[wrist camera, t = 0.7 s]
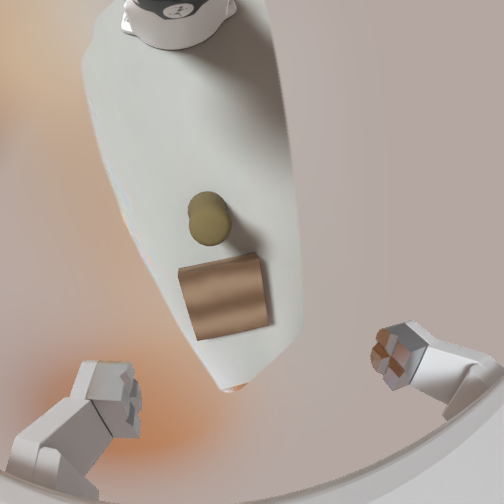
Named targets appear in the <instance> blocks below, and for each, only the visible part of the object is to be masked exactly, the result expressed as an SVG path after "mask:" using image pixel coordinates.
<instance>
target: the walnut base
mask: <svg viewBox="0 0 504 504" xmlns="http://www.w3.org/2000/svg"><path fill="white" fill-rule="evenodd" d="M178 279H179V282H180V286H181V289H182V293H183V296H184V300H185V303H186V306H187V310H188V313H189V316H190V319H191V323H192V326H193V329H194V332H195V335H196V338H197V341H199V340H204V339H209V338H214V337H219V336H224V335H229V334H233V333H238V332H242V331H247V330H251V329H256V328H260V327H264V326H268V317H267V310H266V303H265V296H264V289H263V282H262V275H261V268H260V261H259V258H258V256H257V255H256V253H252V254H247V255H242V256H237V257H232V258H227V259H223V260H218V261H213V262H208V263H203V264H198V265H194V266H189V267H184V268H179V270H178Z"/></svg>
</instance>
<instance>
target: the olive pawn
mask: <svg viewBox="0 0 504 504" xmlns="http://www.w3.org/2000/svg"><path fill="white" fill-rule="evenodd" d="M188 215H189V219H190V221H189V229H190V233H191V235H192V237H193V238H194V239H195V240H196V241H197V242H198V243H200V244H202V245H205V246H215V245H218V244H220V243H222V242H223V241H224V240H225V239H226V238H227V237H228V235H229V233H230V230H231V220H230V217H229V215H228V213H227V212H226V205H225V202H224V200H223V199H222V198H221V197H220V196H219V195H218V194H216V193H213V192H207V191H206V192H201V193H199V194H197V195H196V196H194V197H193V199H192V200H191V201H190V203H189V206H188Z"/></svg>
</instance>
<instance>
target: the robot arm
mask: <svg viewBox="0 0 504 504" xmlns="http://www.w3.org/2000/svg"><path fill="white" fill-rule="evenodd" d="M124 1H126V4H124V10H125V12H124V16H123V20H122V24H121V29H122V31H123V32H125V33H128V34H132V35H136V36H138V37H139V38H140V39H141V40H142V41H144V42H145V43H147V44H148V45H150V46H153V47H156V48H159V49H167V50H175V49H183V48H187V47H191V46H194V45H196V44H199V43H201V42H203V41H204V40H206V39H207V38H209V37H210V36H211V35H213V34H214V33H215V31H216V30H217V29H218V28H219V26H220V25H221V23H222V22H223V21H224V20H225V19H227V18H229V17H230V16H232V15H234V14H235V13H236V11H237V6H236V3H235V1H234V0H124ZM128 21H129V22H128ZM376 341H377V344H376V345H375V346H374V347H373V348H372V352H371V355H370V357H371V363H372V366H373V368H374V369H375V370H376V372H378V373H381V374H383V380H384V381H385V382H386V384H387V385H388V386H389V387H390V388H391V390H392V391H394V390H397V389H399V388H402V387H404V386H407V385H409V384H410V386H412V387H414V388H416V389H418V390H420V391H421V392H424V393H425V394H427V395H429V396H431V397H433V398H435V399H437V400H439V401H441V402H443V403H445V404H447V407H446V408H445V409H444V411H443V414H442V416H443V417H444V418H445V419H446V420H447V422H446V423H444V424H443V425H441V426H440V427H438V428H437V429H435V430H434V431H432V432H431V433H429V434H427V435H426V436H424V437H423V438H421V439H419V440H418V441H416V442H414V443H413V444H411V445H409V446H407V447H405V448H404V449H402V450H400V451H398V452H396V453H394V454H392V455H390V456H388V457H386V458H384V459H383V460H380V461H378V462H376V463H374V464H372V465H369V466H367V467H365V468H363V469H360V470H358V471H355V472H353V473H351V474H348V475H345V476H343V477H340V478H337V479H335V480H332V481H329V482H326V483H323V484H320V485H317V486H314V487H310V488H307V489H303V490H300V491H296V492H292V493H288V494H284V495H280V496H275V497H271V498H266V499H260V500H255V501H249V502H242V503H235V504H504V368H503V367H502V366H501V365H500V364H499V363H497V362H496V361H495V360H494V359H493V358H492V357H490V356H489V355H488V354H485V353H482V352H478V351H474V350H471V349H468V348H465V347H462V346H458V345H455V344H452V343H448V342H445V341H438V340H437V339H436V338H435V337H433V336H432V335H431V334H430V333H428V332H427V331H426V330H425V329H424V328H423V327H421V326H420V325H419V324H417V323H416V322H415V321H413V320H409V321H406V322H403V323H400V324H397V325H393V326H390V327H386V328H382V329H380V330H379V332H378V333H377V336H376ZM141 410H142V397H141V390H140V386H139V383H138V381H136V380H135V379H134V369H133V366H132V363H130V362H120V361H93V360H85V361H83V362H82V364H81V366H80V369H79V372H78V374H77V377H76V380H75V383H74V386H73V389H72V392H71V394H70V398H67V397H65V398H64V399H63V400H61V401H60V402H59V403H57V404H56V405H55V406H54V407H52V408H51V409H50V410H49V411H47V412H46V413H45V414H44V415H42V416H41V417H40V418H39V419H37V420H36V421H35V422H34V423H32V424H31V425H30V426H29V427H27V428H26V429H25V430H24V431H22V432H21V433H20V434H19V435H17V436H16V438H15V441H14V444H13V447H12V450H11V453H10V457H9V460H8V464H7V468H6V471H5V472H4V471H2V470H0V504H117V503H110V502H103V501H99V490H98V489H97V488H96V487H95V486H94V485H93V484H92V483H90V482H89V481H88V480H87V479H86V478H85V475H86V474H87V473H88V471H89V470H90V469H91V467H92V466H93V465H94V464H95V462H96V461H97V460H98V458H99V457H100V456H101V454H102V453H103V452H104V451H105V449H106V448H107V446H109V444H110V443H111V441H112V440H113V438H140V423H141V421H140V419H139V416H138V413H139V412H140V411H141Z"/></svg>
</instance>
